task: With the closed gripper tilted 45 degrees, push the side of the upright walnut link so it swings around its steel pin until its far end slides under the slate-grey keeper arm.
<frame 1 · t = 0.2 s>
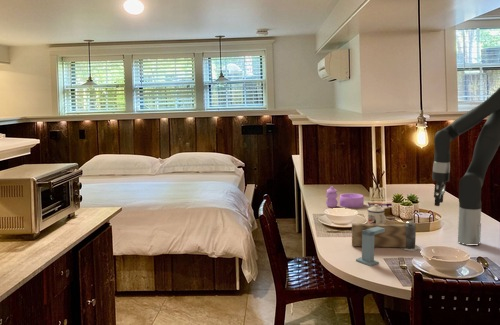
hand: (438, 204, 215), 17 cm above the table, tool pointing down, fingers open, 8 cm apart
teacup with lid: (377, 226, 242), on the table
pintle: (409, 247, 205), on the table
link: (383, 235, 207), point 5 cm above the table, hinge at 0.0°
keeper: (367, 261, 188), on the table
container set: (344, 206, 291), on the table
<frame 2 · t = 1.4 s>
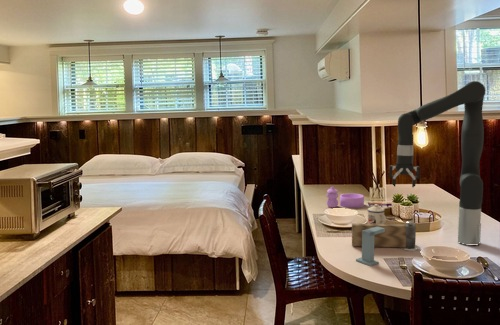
hand: (403, 186, 219), 25 cm above the table, tool pointing down, fingers open, 8 cm apart
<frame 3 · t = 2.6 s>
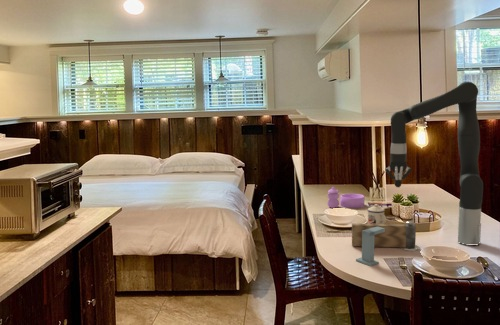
hand: (397, 187, 220), 25 cm above the table, tool pointing down, fingers closed
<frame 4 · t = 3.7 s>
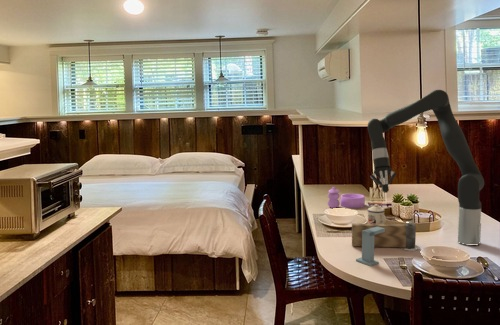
hand: (385, 192, 217), 23 cm above the table, tool tilted 20°, fingers closed
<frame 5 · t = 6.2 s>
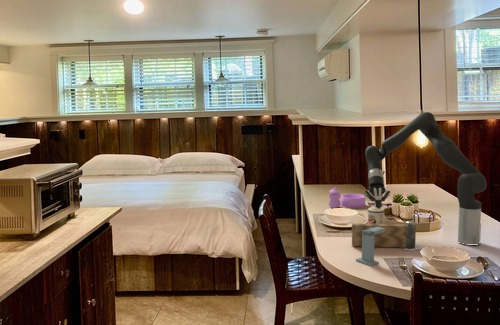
hand: (378, 207, 221), 15 cm above the table, tool tilted 45°, fingers closed
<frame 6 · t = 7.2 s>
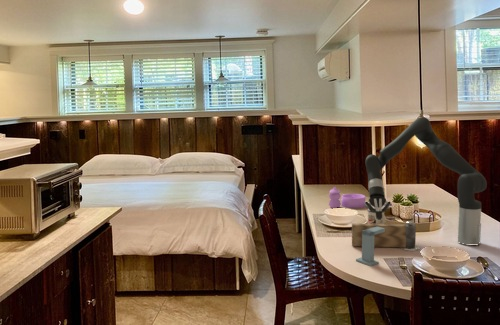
hand: (379, 219, 218), 10 cm above the table, tool tilted 45°, fingers closed
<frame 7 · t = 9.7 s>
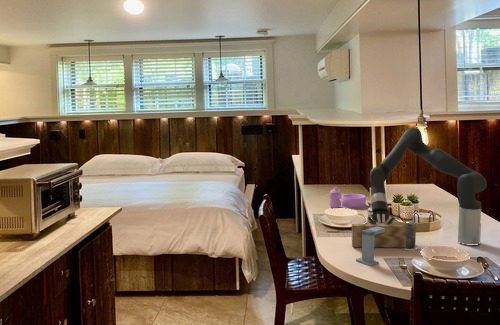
hand: (382, 235, 208), 5 cm above the table, tool tilted 45°, fingers closed
link: (383, 235, 206), point 5 cm above the table, hinge at 2.2°, touching gripper
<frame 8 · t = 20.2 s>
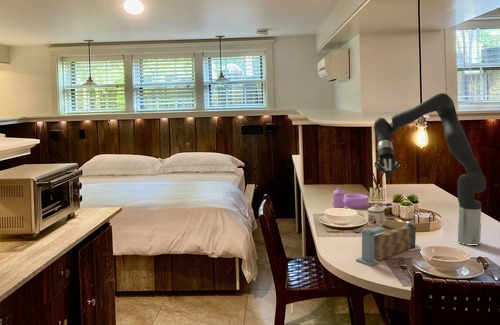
hand: (388, 178, 217), 30 cm above the table, tool tilted 45°, fingers closed
link: (395, 241, 197), point 5 cm above the table, hinge at 47.8°
container set: (349, 207, 288), on the table
everything else where it was.
at the end: link at +48° (first picture: +0°); teacup with lid moved 0.2 cm from its start; container set moved 4.1 cm from its start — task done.
